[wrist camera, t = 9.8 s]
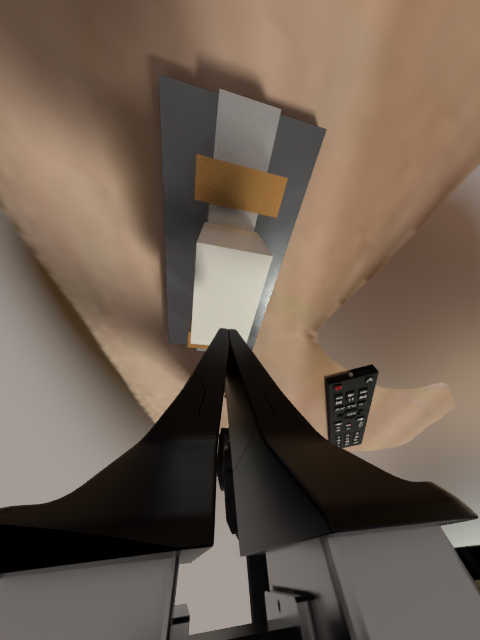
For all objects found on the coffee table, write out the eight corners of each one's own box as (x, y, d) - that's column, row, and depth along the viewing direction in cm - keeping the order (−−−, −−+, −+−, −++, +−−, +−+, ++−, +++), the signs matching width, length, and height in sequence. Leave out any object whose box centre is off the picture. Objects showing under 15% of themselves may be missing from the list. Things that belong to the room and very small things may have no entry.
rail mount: (251, 344, 24) (256, 372, 21) (170, 337, 22) (161, 366, 19) (319, 132, 12) (357, 114, 9) (163, 81, 11) (136, 36, 7)
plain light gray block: (239, 308, 18) (244, 348, 14) (198, 302, 18) (190, 343, 13) (257, 232, 14) (272, 256, 10) (204, 221, 14) (196, 242, 9)
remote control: (372, 362, 30) (381, 373, 28) (357, 437, 49) (362, 445, 47) (324, 375, 30) (330, 385, 29) (328, 443, 49) (332, 451, 48)
